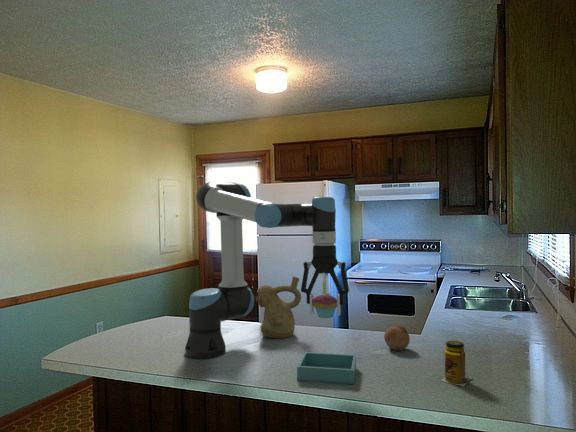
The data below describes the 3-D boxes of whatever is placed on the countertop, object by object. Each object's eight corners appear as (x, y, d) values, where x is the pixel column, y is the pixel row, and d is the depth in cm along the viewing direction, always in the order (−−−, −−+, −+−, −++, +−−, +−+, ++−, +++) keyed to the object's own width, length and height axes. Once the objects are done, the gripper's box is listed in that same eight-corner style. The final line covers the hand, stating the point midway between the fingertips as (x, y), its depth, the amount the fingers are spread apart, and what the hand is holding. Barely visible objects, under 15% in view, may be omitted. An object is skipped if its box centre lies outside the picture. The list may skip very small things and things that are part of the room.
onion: (406, 356, 174) (418, 334, 173) (394, 355, 167) (407, 332, 166) (387, 342, 180) (399, 320, 179) (375, 341, 174) (387, 318, 173)
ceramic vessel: (257, 329, 203) (257, 274, 202) (301, 329, 202) (301, 274, 202) (253, 340, 186) (253, 280, 185) (301, 340, 185) (301, 280, 185)
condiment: (439, 381, 141) (439, 343, 141) (449, 373, 148) (449, 337, 148) (463, 387, 137) (463, 347, 136) (472, 378, 143) (472, 341, 143)
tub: (297, 380, 142) (297, 366, 142) (304, 365, 156) (304, 352, 156) (353, 384, 139) (353, 370, 139) (356, 368, 153) (356, 355, 153)
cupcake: (336, 320, 142) (336, 282, 142) (310, 319, 144) (309, 281, 144) (339, 314, 150) (339, 278, 150) (314, 313, 152) (313, 277, 152)
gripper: (290, 245, 145) (291, 315, 146) (356, 245, 141) (357, 318, 141) (294, 243, 153) (295, 310, 153) (357, 243, 148) (358, 312, 148)
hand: (325, 314), depth 147 cm, fingers closed on cupcake, 8 cm apart
